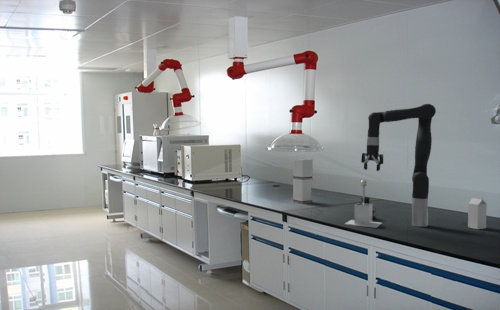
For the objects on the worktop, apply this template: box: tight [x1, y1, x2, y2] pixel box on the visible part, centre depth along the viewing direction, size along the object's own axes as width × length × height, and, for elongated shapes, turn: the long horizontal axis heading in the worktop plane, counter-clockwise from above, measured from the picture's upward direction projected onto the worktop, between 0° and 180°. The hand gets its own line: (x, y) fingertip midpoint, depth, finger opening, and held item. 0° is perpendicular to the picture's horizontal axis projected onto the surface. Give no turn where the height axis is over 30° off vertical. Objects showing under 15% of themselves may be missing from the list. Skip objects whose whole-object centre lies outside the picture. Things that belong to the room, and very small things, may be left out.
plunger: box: [360, 179, 369, 206], centre depth 303 cm, size 7×7×17 cm
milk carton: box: [467, 195, 487, 230], centre depth 291 cm, size 7×7×19 cm
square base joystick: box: [353, 202, 373, 225], centre depth 304 cm, size 9×9×12 cm
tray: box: [344, 219, 383, 229], centre depth 304 cm, size 20×14×1 cm
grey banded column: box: [292, 158, 314, 205], centre depth 390 cm, size 11×11×35 cm
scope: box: [360, 196, 377, 220], centre depth 323 cm, size 8×14×10 cm
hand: (371, 170), depth 303 cm, fingers open, 8 cm apart
